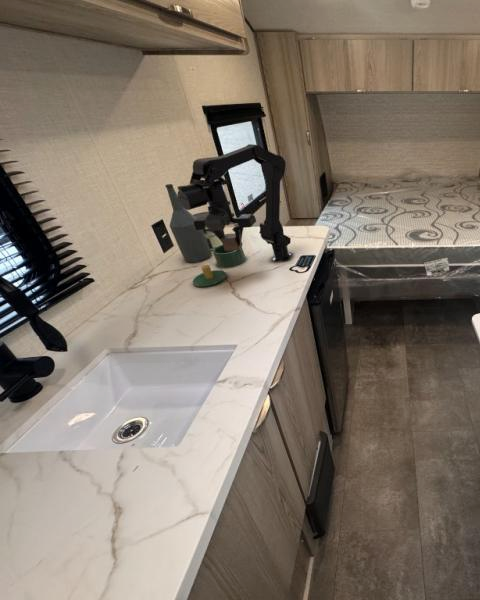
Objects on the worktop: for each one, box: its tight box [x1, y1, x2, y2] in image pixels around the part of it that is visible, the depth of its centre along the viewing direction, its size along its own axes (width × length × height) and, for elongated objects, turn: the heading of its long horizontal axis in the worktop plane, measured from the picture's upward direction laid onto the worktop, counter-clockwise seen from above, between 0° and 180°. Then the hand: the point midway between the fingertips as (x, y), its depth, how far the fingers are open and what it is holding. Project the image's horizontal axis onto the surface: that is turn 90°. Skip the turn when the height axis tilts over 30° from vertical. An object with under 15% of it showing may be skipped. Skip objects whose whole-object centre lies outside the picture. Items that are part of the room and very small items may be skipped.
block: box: [221, 233, 243, 251], centre depth 113 cm, size 4×4×4 cm
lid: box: [192, 264, 227, 287], centre depth 118 cm, size 11×11×6 cm
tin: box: [212, 245, 246, 268], centre depth 131 cm, size 10×10×6 cm
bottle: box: [165, 183, 212, 264], centre depth 128 cm, size 10×10×30 cm
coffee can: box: [193, 211, 223, 251], centre depth 142 cm, size 10×10×14 cm
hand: (233, 245), depth 114 cm, fingers closed on block, 4 cm apart
